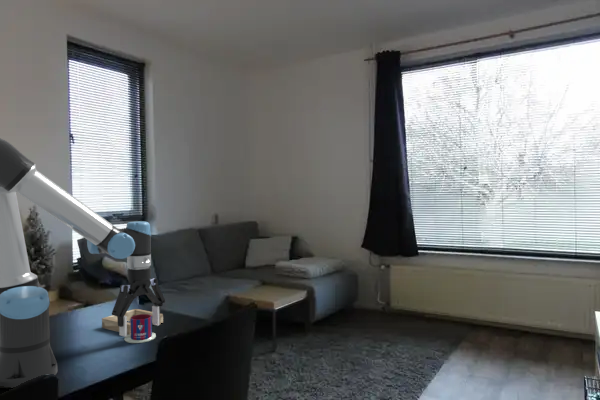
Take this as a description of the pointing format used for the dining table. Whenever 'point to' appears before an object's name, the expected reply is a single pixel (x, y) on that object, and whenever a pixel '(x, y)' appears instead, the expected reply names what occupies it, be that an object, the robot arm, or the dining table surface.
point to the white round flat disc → (129, 340)
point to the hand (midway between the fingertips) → (140, 330)
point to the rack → (112, 321)
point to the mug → (141, 326)
